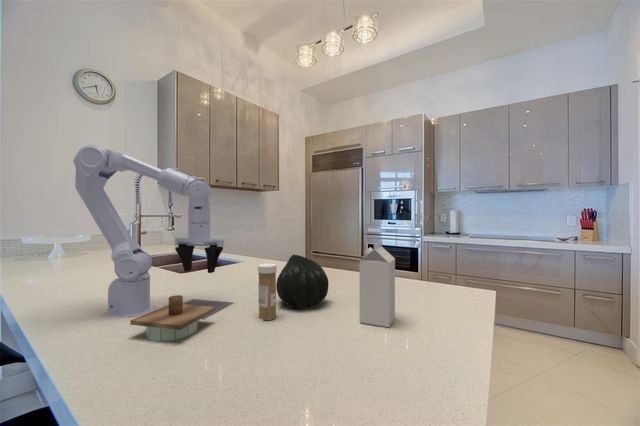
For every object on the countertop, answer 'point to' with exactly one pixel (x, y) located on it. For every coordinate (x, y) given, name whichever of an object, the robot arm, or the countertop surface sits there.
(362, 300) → the milk carton
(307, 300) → the squash
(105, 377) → the countertop surface
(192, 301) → the mat
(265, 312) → the sprinkles bottle
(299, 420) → the countertop surface
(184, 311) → the lid
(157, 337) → the bowl
